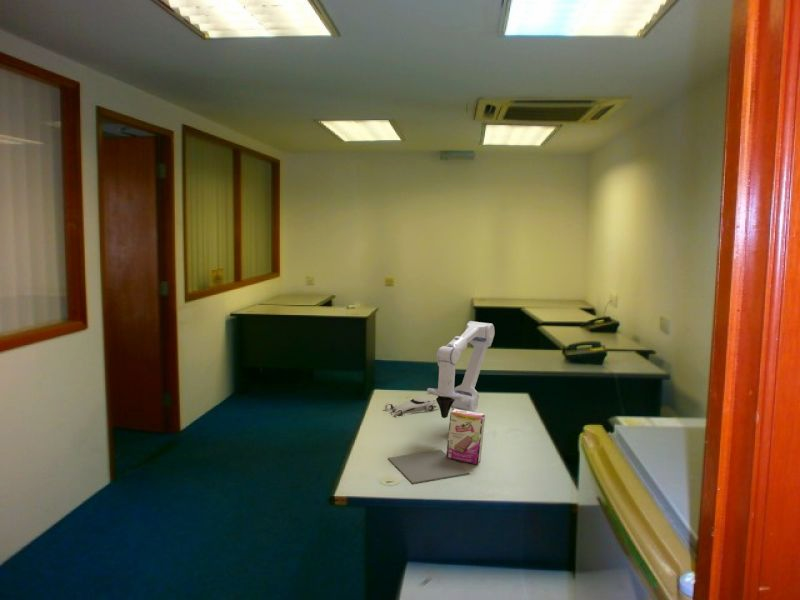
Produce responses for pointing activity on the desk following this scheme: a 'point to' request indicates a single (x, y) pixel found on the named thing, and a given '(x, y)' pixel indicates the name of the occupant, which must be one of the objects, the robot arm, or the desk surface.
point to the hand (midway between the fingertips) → (444, 417)
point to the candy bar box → (465, 436)
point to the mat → (427, 466)
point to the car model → (408, 407)
